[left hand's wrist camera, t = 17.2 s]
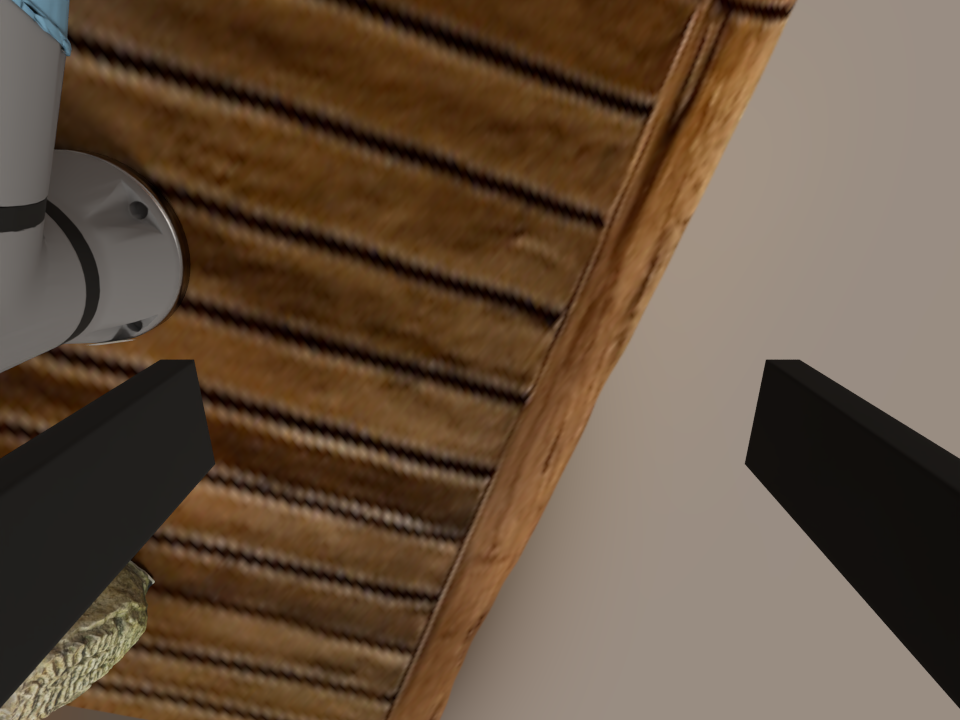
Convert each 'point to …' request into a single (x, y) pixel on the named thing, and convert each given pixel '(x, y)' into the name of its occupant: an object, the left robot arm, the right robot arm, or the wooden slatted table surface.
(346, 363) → the wooden slatted table surface
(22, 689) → the fossil
